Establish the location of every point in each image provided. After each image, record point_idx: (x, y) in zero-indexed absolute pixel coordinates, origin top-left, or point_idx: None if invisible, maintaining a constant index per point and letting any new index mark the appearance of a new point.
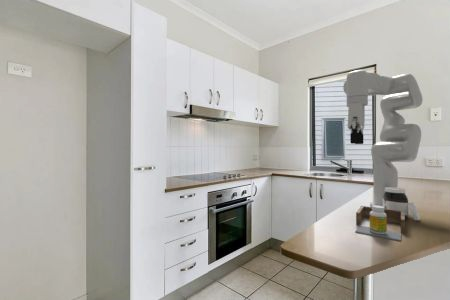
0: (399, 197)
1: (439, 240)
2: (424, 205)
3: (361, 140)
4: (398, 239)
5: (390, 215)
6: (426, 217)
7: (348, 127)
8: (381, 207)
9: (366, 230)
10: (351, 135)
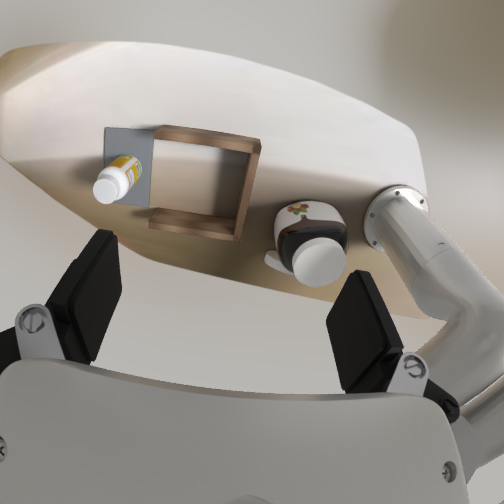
0: (284, 257)
1: (152, 254)
2: None
3: (335, 336)
4: None
5: (238, 208)
6: None
7: (14, 363)
8: (99, 198)
9: (123, 147)
10: (65, 290)
